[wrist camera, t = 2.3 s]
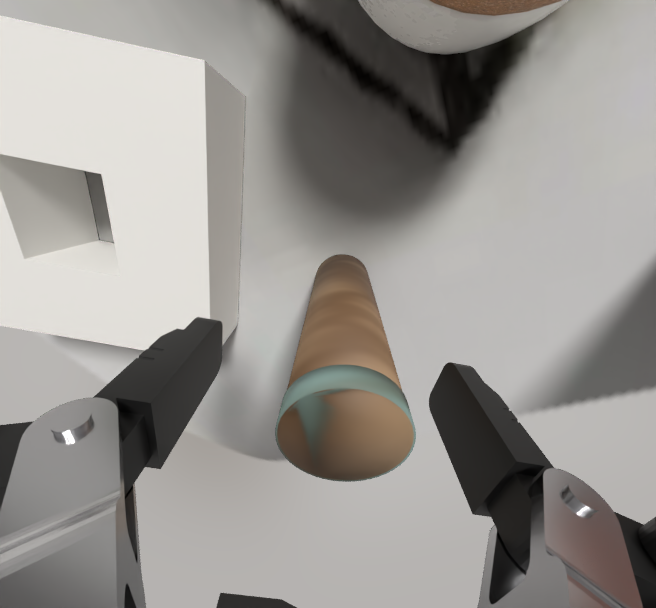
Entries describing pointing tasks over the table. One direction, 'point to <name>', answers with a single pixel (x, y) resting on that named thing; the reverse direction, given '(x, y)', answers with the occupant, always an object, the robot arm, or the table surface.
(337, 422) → the walnut dowel
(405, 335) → the table surface
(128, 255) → the socket block
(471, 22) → the lidded jar
